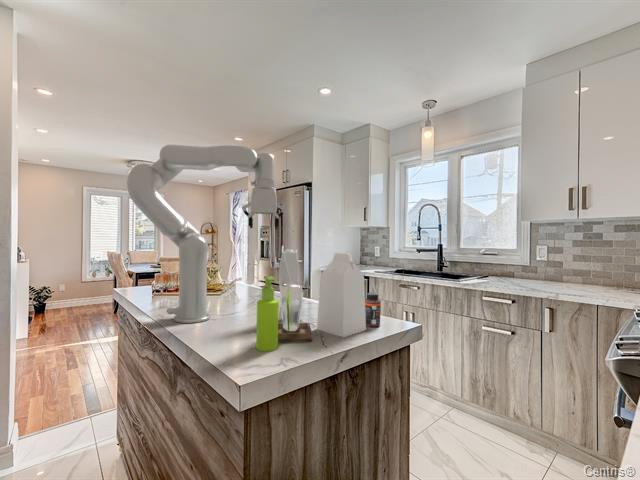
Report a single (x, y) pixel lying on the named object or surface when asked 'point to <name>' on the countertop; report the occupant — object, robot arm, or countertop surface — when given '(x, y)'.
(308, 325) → the walnut tray
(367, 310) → the supplement bottle
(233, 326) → the countertop surface
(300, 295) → the beer glass
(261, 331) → the soap dispenser
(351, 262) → the milk
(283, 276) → the skyscraper
